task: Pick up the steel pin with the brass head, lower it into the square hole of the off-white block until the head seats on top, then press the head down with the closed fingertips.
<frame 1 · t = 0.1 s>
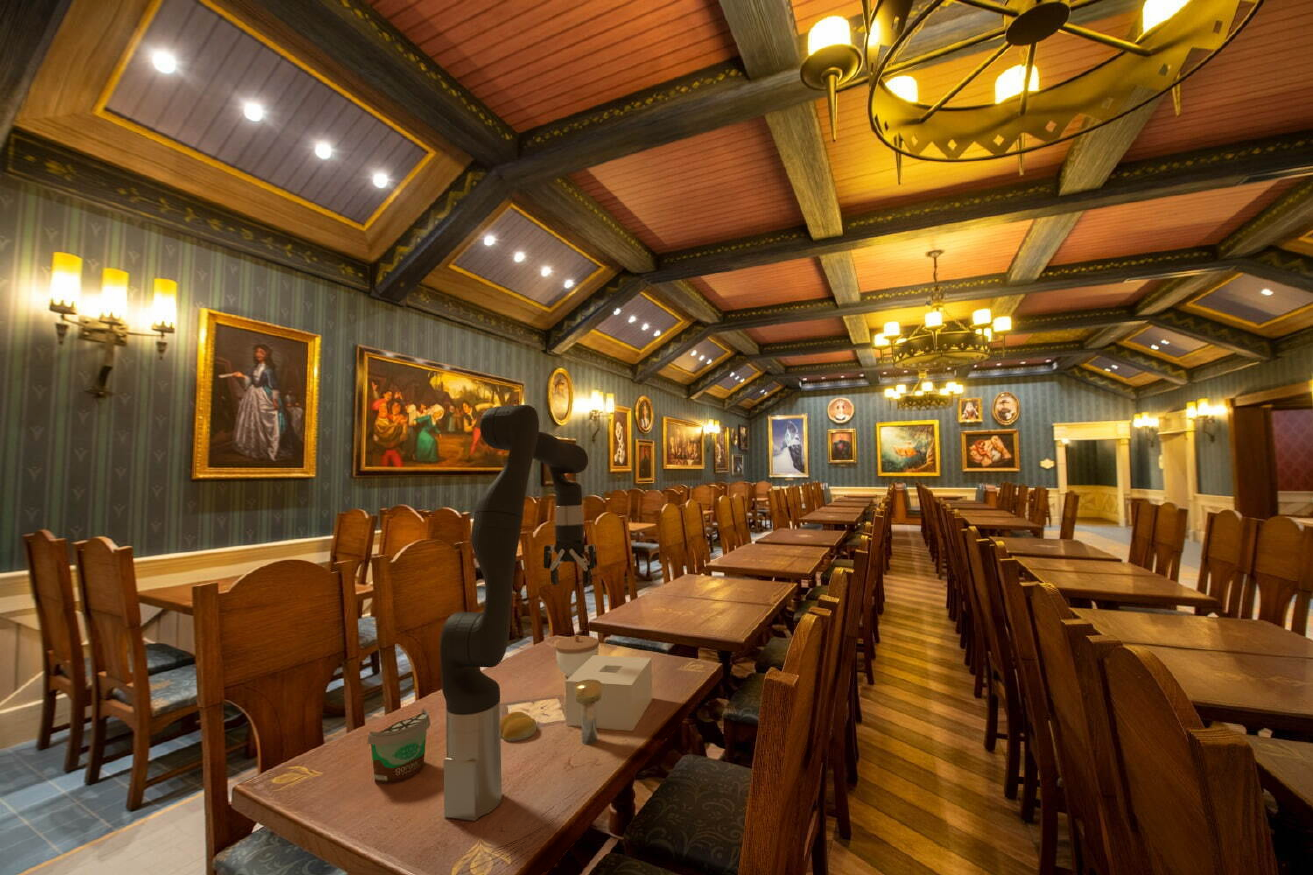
hand: (570, 584, 141), 29 cm above the table, fingers open, 8 cm apart
bread roll: (516, 734, 123), on the table
brass-head pin: (589, 740, 117), on the table
lidded bowl: (578, 674, 157), on the table
pin block: (611, 710, 132), on the table
food container: (406, 775, 106), on the table
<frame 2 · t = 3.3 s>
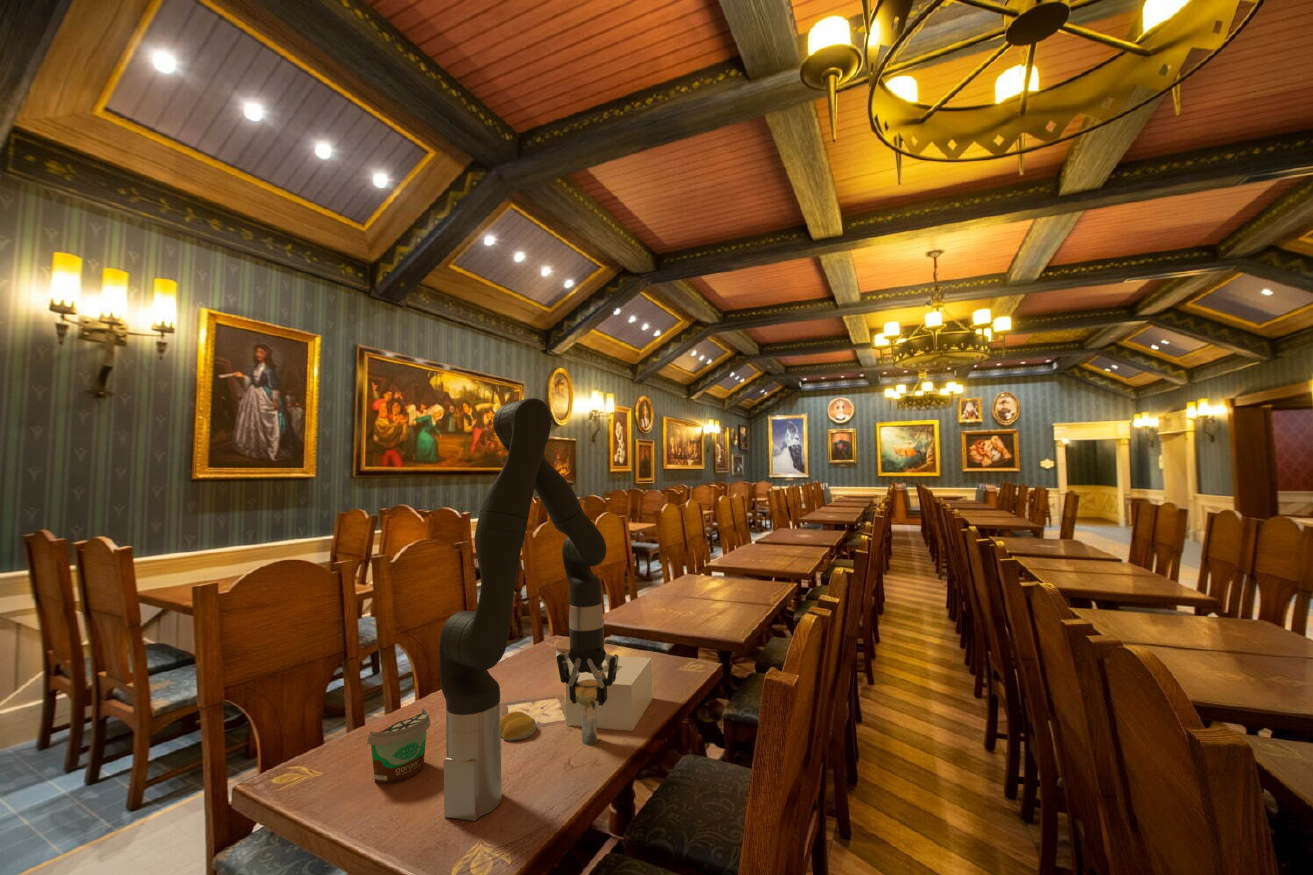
hand: (588, 702, 118), 8 cm above the table, fingers closed on brass-head pin, 5 cm apart
brass-head pin: (589, 740, 117), on the table, touching gripper
everything else where it was.
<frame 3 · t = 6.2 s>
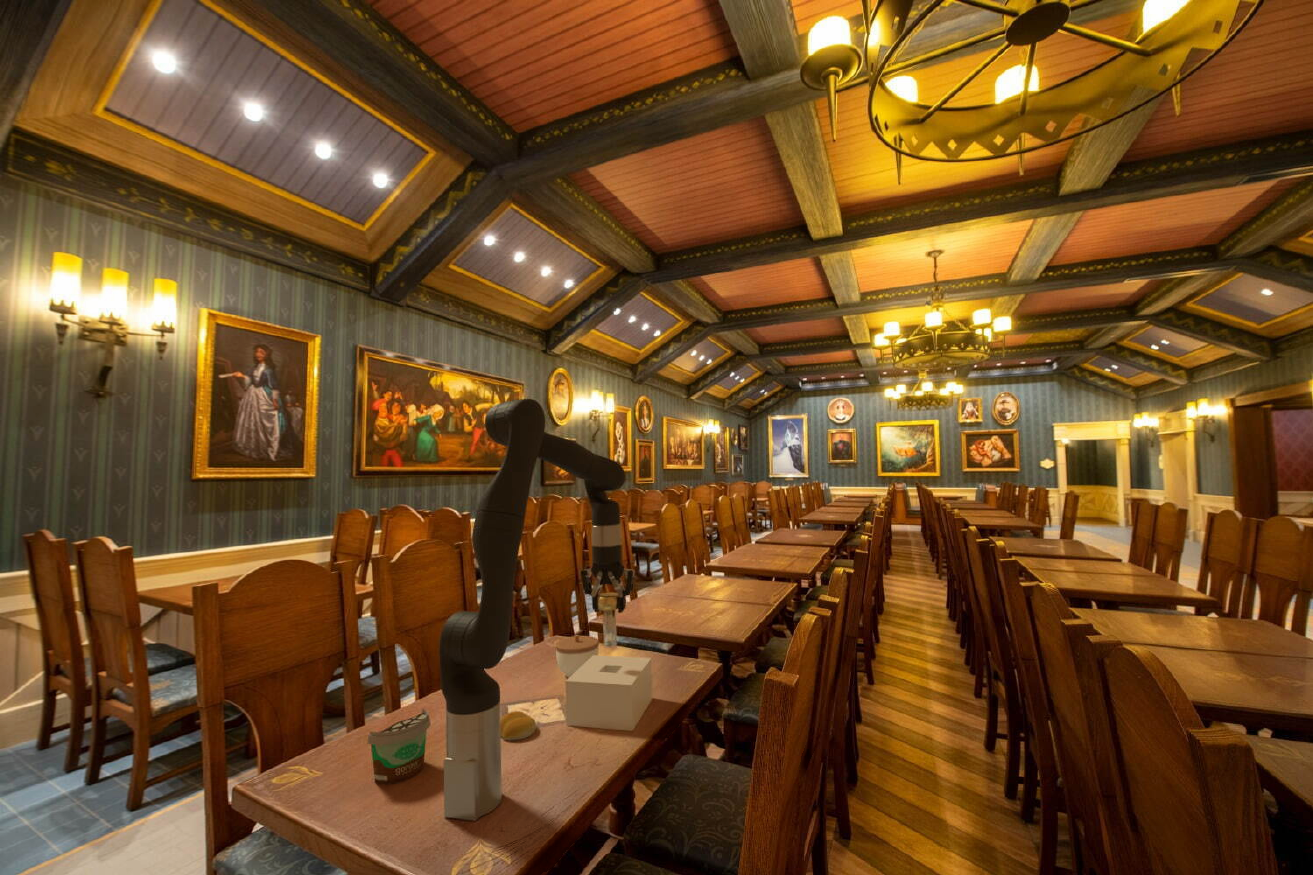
hand: (609, 611, 133), 24 cm above the table, fingers closed on brass-head pin, 5 cm apart
brass-head pin: (610, 644, 133), point 16 cm above the table, touching gripper
everything else where it was.
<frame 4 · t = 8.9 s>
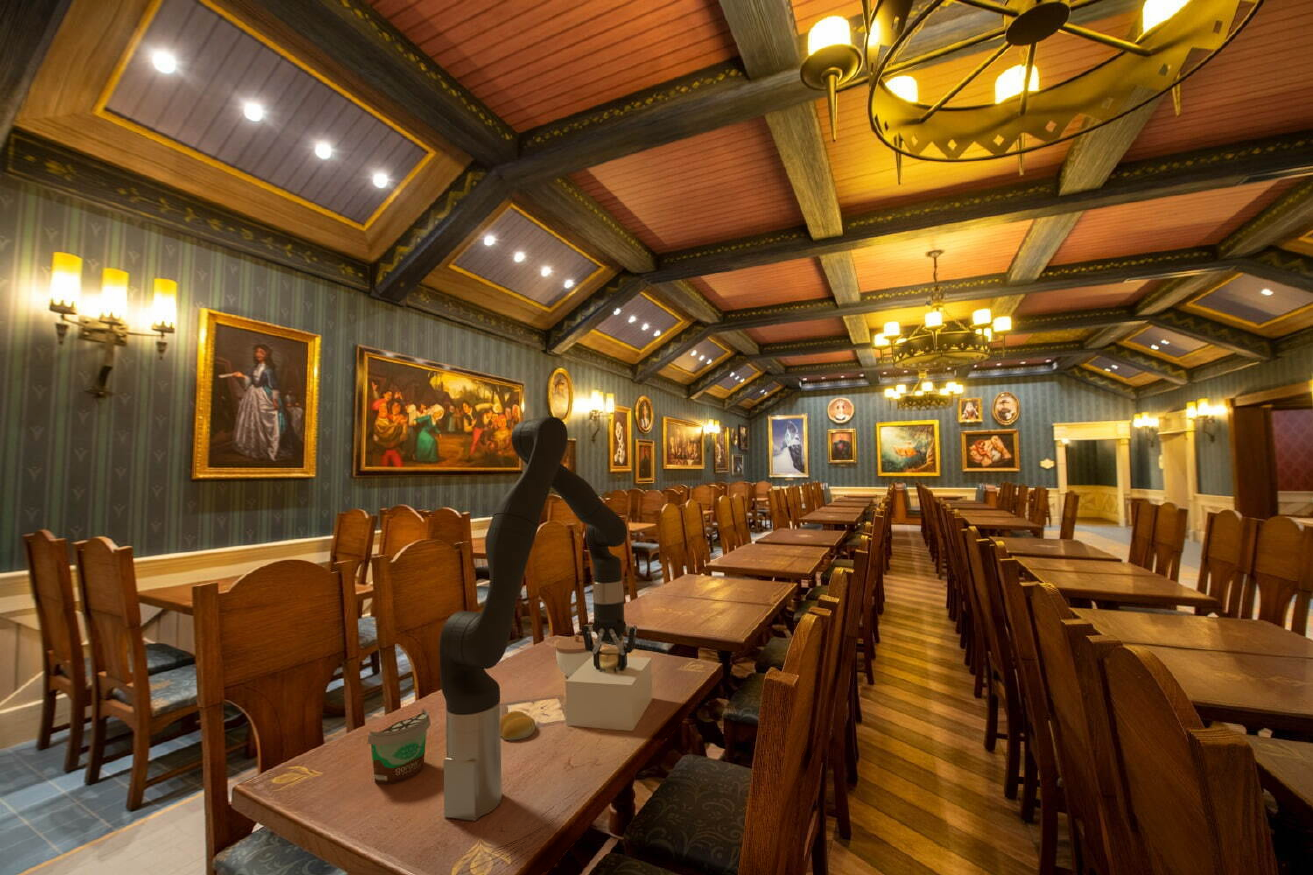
hand: (610, 668, 132), 10 cm above the table, fingers closed on brass-head pin, 5 cm apart
brass-head pin: (611, 702, 132), point 2 cm above the table, touching gripper
everything else where it was.
when the fingers open (10 cm above the table, at t = 9.3 s): brass-head pin drops 1 cm, resting on pin block.
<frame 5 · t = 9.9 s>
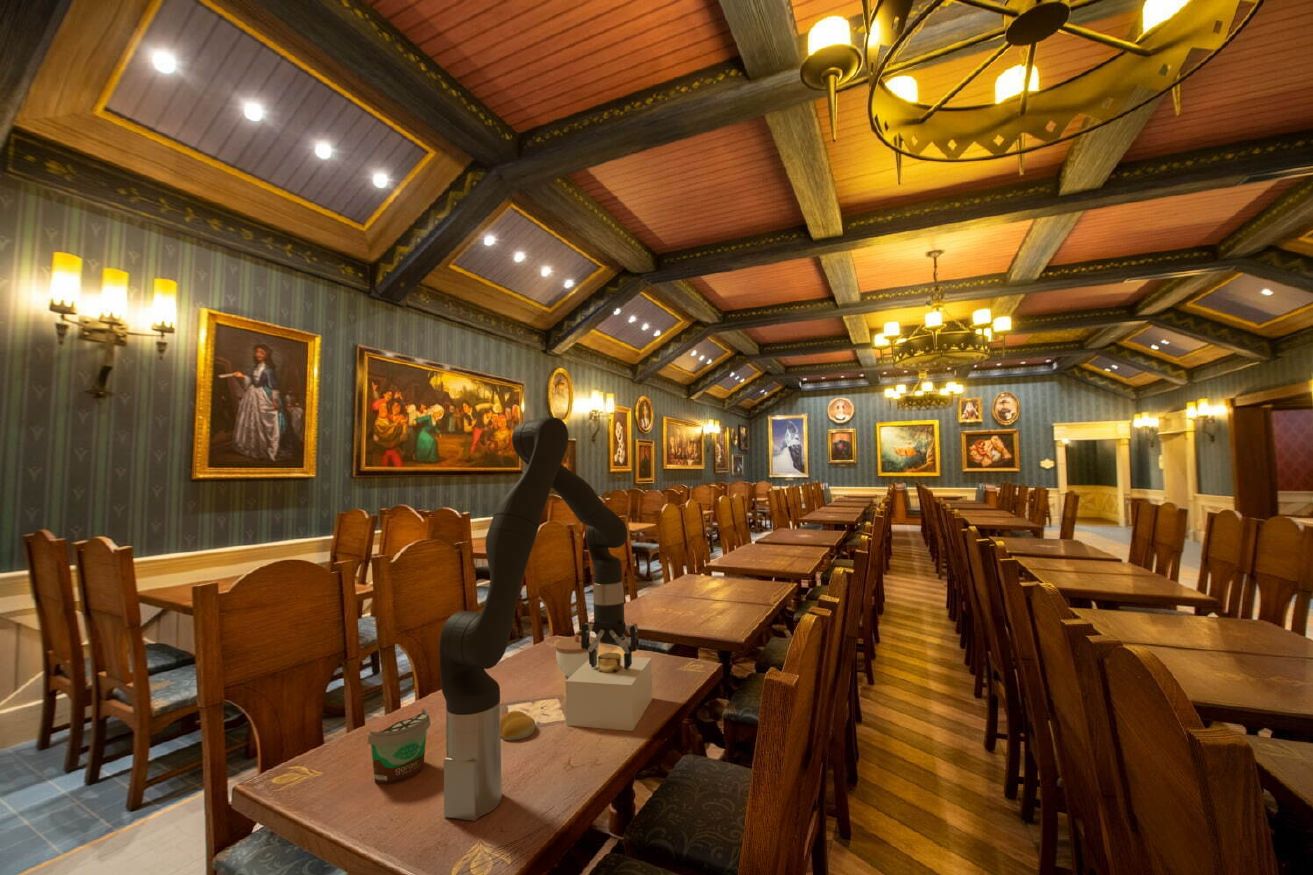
hand: (610, 667, 132), 10 cm above the table, fingers open, 8 cm apart
brass-head pin: (611, 706, 132), point 1 cm above the table, touching pin block
everything else where it was.
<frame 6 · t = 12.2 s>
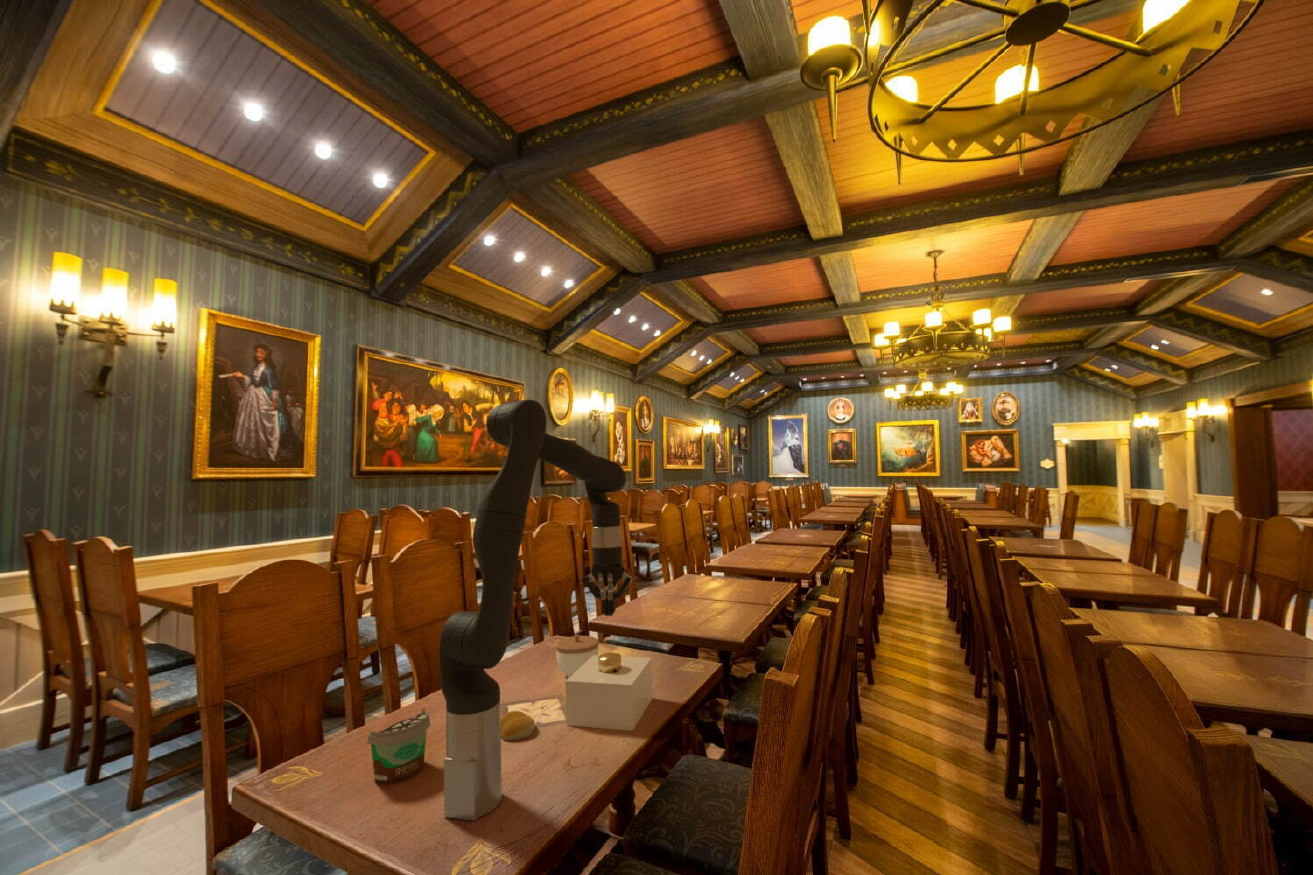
hand: (609, 614, 133), 23 cm above the table, fingers closed
nothing on the table moved.
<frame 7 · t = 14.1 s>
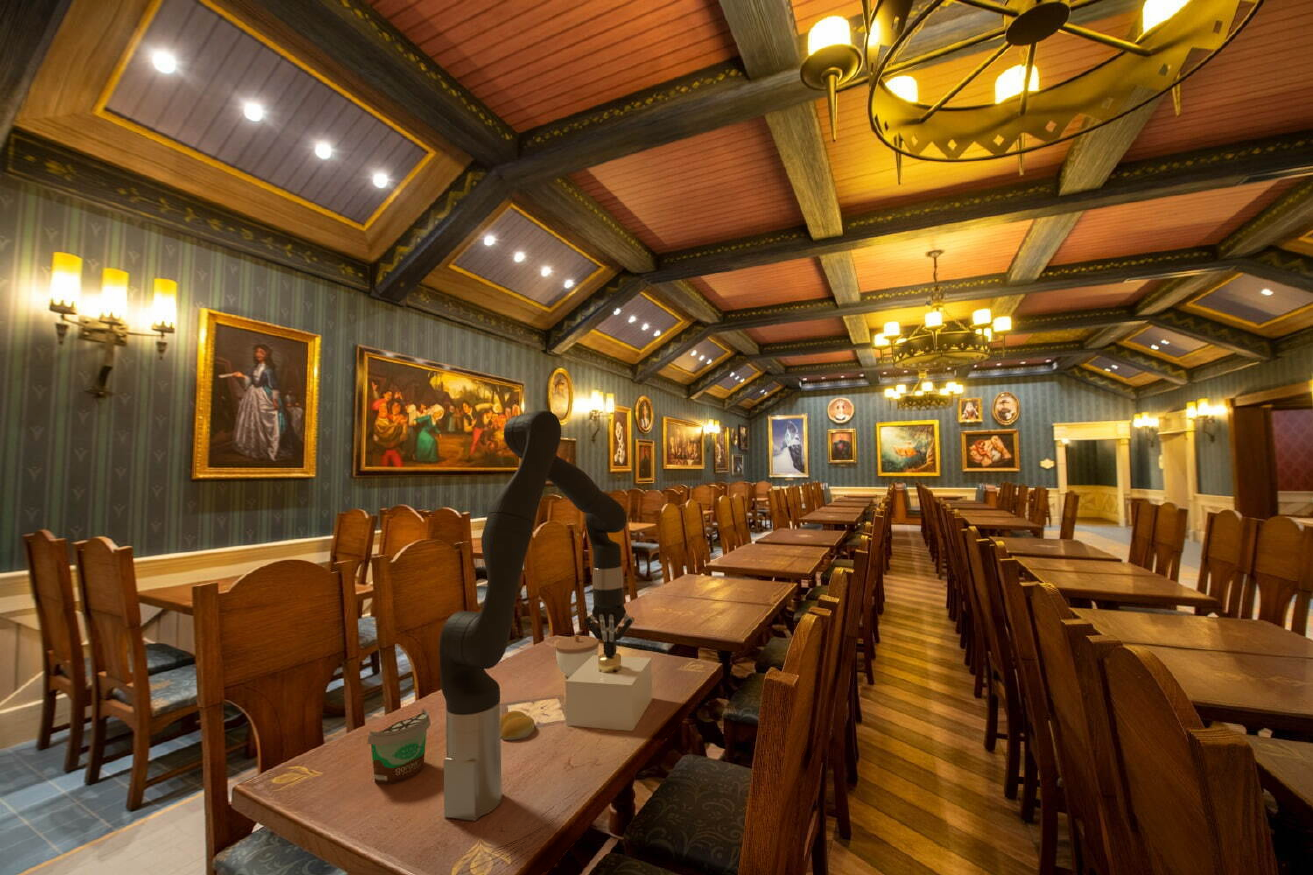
hand: (610, 656, 133), 13 cm above the table, fingers closed
brass-head pin: (611, 706, 132), point 1 cm above the table, touching gripper, pin block
everything else where it was.
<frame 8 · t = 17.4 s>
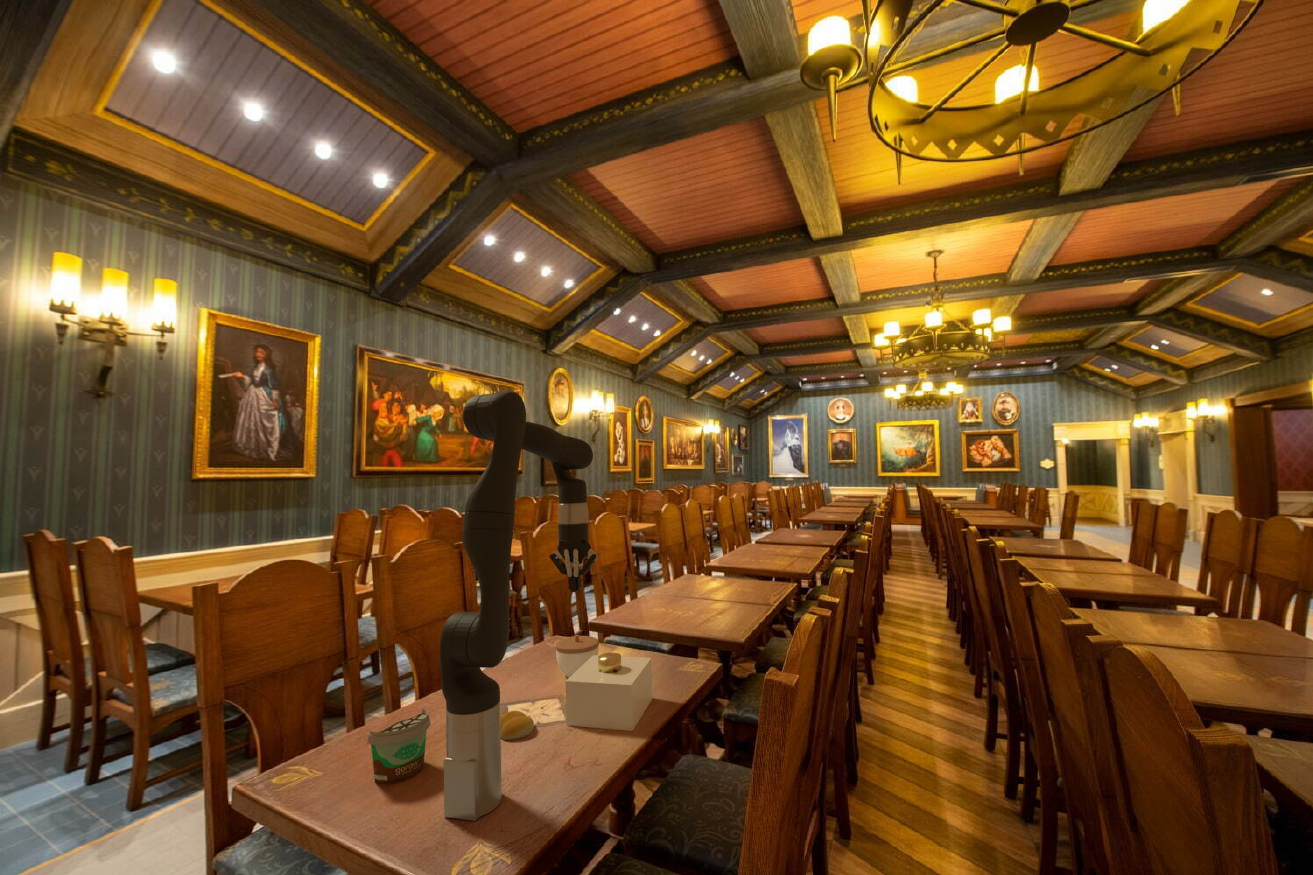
hand: (575, 591, 134), 29 cm above the table, fingers closed
brass-head pin: (611, 706, 132), point 1 cm above the table, touching pin block
everything else where it was.
at the end: brass-head pin 0.2 cm off-centre on the pin block, point 1.0 cm above the pin block's base; brass-head pin tilted 0°; the gripper is holding nothing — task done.
